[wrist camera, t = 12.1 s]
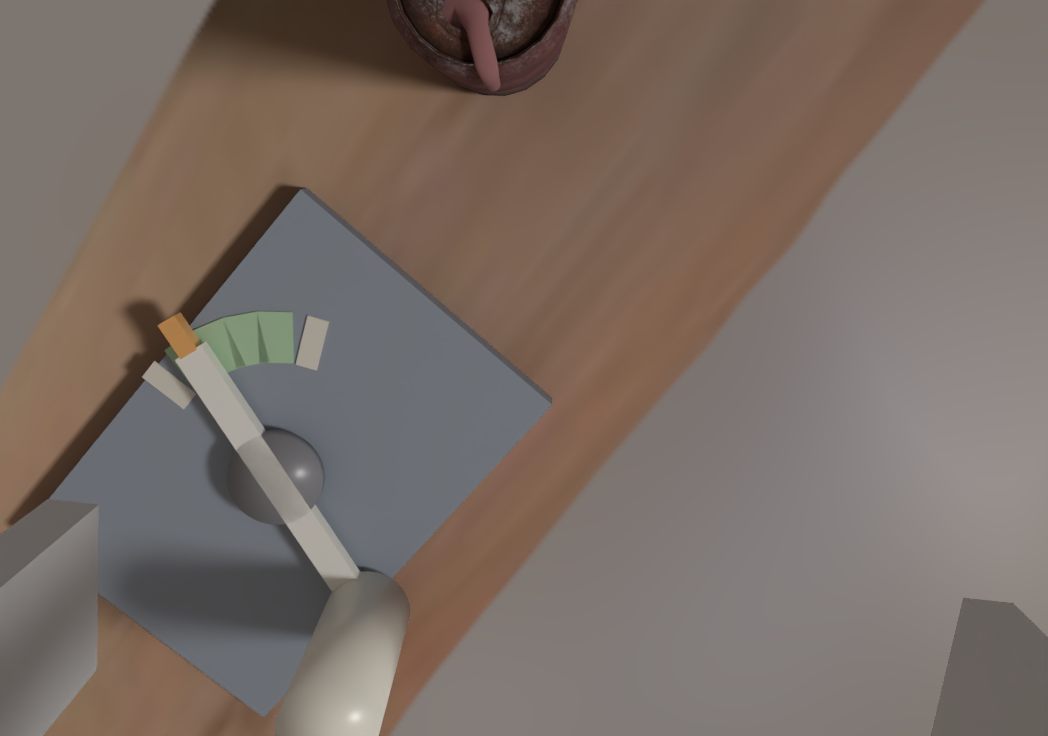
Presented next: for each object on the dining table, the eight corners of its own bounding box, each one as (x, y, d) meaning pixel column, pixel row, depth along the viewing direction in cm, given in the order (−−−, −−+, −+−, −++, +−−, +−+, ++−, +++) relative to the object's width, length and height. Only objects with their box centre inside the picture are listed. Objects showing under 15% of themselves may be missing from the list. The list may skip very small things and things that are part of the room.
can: (450, 118, 44) (413, 109, 30) (410, -28, 42) (352, -106, 29) (582, 82, 43) (604, 57, 30) (546, -67, 42) (552, -165, 28)
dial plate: (303, 184, 45) (296, 186, 43) (551, 398, 47) (552, 405, 45) (28, 522, 48) (14, 532, 47) (269, 704, 51) (263, 718, 49)
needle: (132, 340, 45) (20, 398, 35) (212, 293, 44) (120, 337, 34) (352, 661, 48) (306, 794, 38) (428, 621, 48) (401, 745, 38)
